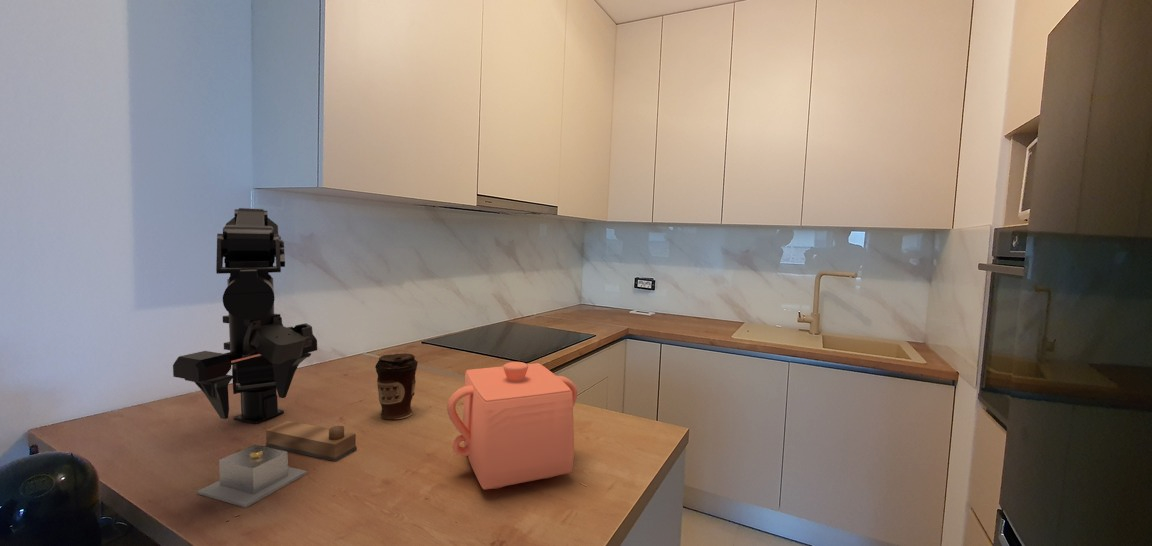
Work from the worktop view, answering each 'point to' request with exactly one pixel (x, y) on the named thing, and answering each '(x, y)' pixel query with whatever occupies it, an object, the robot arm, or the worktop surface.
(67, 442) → the worktop surface
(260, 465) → the grey jewelry box
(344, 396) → the worktop surface
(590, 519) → the worktop surface
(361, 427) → the worktop surface
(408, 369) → the coffee cup
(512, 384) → the teapot
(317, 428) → the plane body
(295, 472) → the felt pad
